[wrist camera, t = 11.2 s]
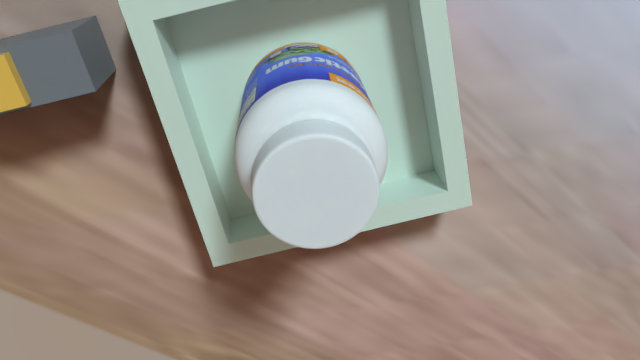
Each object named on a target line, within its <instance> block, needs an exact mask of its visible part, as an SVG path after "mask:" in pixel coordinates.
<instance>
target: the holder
mask: <svg viewBox="0 0 640 360" xmlns="http://www.w3.org/2000/svg"><path fill="white" fill-rule="evenodd" d="M115 71H116V68H115V65H114V63H113V60H112V57H111V55H110V52H109V49H108V47H107V44H106V41H105V39H104V36H103V34H102V31H101V28H100V26H99V23H98V20H97V18H96V16H93V17H89V18H85V19H81V20H77V21H72V22H68V23H64V24H60V25H56V26H52V27H48V28H44V29H40V30H36V31H32V32H28V33H24V34H20V35H16V36H12V37H8V38H4V39H0V115H2V114H6V113H10V112H14V111H18V110H22V109H27V108H31V107H35V106H39V105H43V104H47V103H51V102H55V101H59V100H63V99H67V98H71V97H75V96H79V95H84V94H88V93H92V92H96V91H97V90H98V88H99V87H100V86H101V85H102V84H103V83H104V82H105V81H106V80H107V79H108V78H109V77H110V76H111V75H112V74H113V73H114V72H115Z"/></svg>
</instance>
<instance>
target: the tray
mask: <svg viewBox="0 0 640 360" xmlns="http://www.w3.org/2000/svg"><path fill="white" fill-rule="evenodd" d="M118 3H119V5H120V8H121V11H122V14H123V16H124V19H125V22H126V25H127V28H128V30H129V33H130V36H131V39H132V41H133V44H134V47H135V50H136V53H137V55H138V58H139V61H140V64H141V66H142V69H143V72H144V75H145V78H146V80H147V83H148V86H149V89H150V92H151V94H152V97H153V100H154V103H155V105H156V108H157V111H158V114H159V117H160V119H161V122H162V125H163V128H164V130H165V133H166V136H167V139H168V142H169V144H170V147H171V150H172V153H173V155H174V158H175V161H176V164H177V167H178V169H179V172H180V175H181V178H182V181H183V183H184V186H185V189H186V192H187V194H188V197H189V200H190V203H191V206H192V208H193V211H194V214H195V217H196V219H197V222H198V225H199V228H200V231H201V233H202V236H203V239H204V242H205V244H206V247H207V250H208V253H209V256H210V258H211V261H212V264H213V267H217V266H221V265H225V264H229V263H233V262H238V261H242V260H246V259H250V258H254V257H258V256H263V255H267V254H271V253H275V252H279V251H284V250H288V249H292V248H296V246H293V245H290V244H287V243H285V242H283V241H281V240H279V239H278V238H276V237H275V236H274V235H272V234H271V233H270V232H269V231H268V230H267V229H266V228H265V227H264V226H263V225H262V223H261V222H260V220H259V218H258V216H257V215H256V212H255V209H254V206H253V202H252V201H251V200H250V198H249V197H248V196H247V194H246V193H245V191H244V189H243V188H242V186H241V183H240V181H239V178H238V175H237V172H236V168H235V159H234V152H235V139H236V133H237V127H238V121H239V115H240V109H241V104H242V98H243V93H244V88H245V85H246V82H247V80H248V78H249V76H250V74H251V72H252V70H253V69H254V67H255V66H256V65H257V63H258V62H259V61H260V60H261V59H262V58H263V57H264V56H265V55H267V54H268V53H269V52H271V51H272V50H274V49H276V48H278V47H280V46H283V45H285V44H289V43H293V42H315V43H319V44H323V45H326V46H328V47H330V48H332V49H334V50H336V51H337V52H339V53H340V54H341V55H343V56H344V57H345V58H346V59H347V60H348V61H349V62H350V63H351V64H352V66H353V67H354V69H355V70H356V72H357V73H358V75H359V77H360V79H361V81H362V84H363V86H364V88H365V90H366V92H367V94H368V96H369V99H370V101H371V103H372V105H373V107H374V109H375V111H376V113H377V115H378V118H379V120H380V122H381V125H382V127H383V130H384V132H385V135H386V140H387V146H388V160H387V167H386V171H385V175H384V177H383V180H382V182H381V184H380V194H379V200H378V205H377V208H376V211H375V213H374V214H373V216H372V218H371V220H370V221H369V223H368V224H367V225H366V226H365V227H364V228H363V229H362V230H361V231H360V232H363V231H367V230H371V229H376V228H380V227H384V226H388V225H392V224H396V223H401V222H405V221H409V220H413V219H417V218H422V217H426V216H430V215H434V214H438V213H442V212H447V211H451V210H455V209H459V208H463V207H468V206H472V199H471V191H470V184H469V176H468V169H467V161H466V153H465V146H464V138H463V131H462V123H461V115H460V108H459V100H458V93H457V85H456V77H455V70H454V62H453V55H452V47H451V39H450V32H449V24H448V17H447V9H446V1H445V0H118Z"/></svg>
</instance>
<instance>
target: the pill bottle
mask: <svg viewBox="0 0 640 360" xmlns="http://www.w3.org/2000/svg"><path fill="white" fill-rule="evenodd" d="M234 159H235V168H236V172H237V175H238V178H239V181H240V183H241V186H242V188H243V189H244V191H245V193H246V194H247V196H248V197H249V198H250V200H251V201H252V202H253V206H254V209H255V212H256V215H257V216H258V218H259V220H260V222H261V223H262V225H263V226H264V227H265V228H266V229H267V230H268V231H269V232H270V233H271V234H272V235H274V236H275V237H276V238H278V239H279V240H281V241H283V242H285V243H287V244H290V245H293V246H296V247H301V248H307V249H322V248H328V247H332V246H336V245H338V244H341V243H344V242H346V241H348V240H349V239H351V238H352V237H354V236H355V235H357V234H358V233H359V232H360V231H361V230H362V229H363V228H364V227H365V226H366V225H367V224H368V223H369V221H370V220H371V218H372V216H373V214H374V213H375V211H376V208H377V205H378V200H379V194H380V184H381V182H382V180H383V177H384V175H385V171H386V167H387V160H388V146H387V140H386V135H385V132H384V130H383V127H382V125H381V122H380V120H379V118H378V115H377V113H376V111H375V109H374V107H373V105H372V103H371V101H370V99H369V96H368V94H367V92H366V90H365V88H364V86H363V84H362V81H361V79H360V77H359V75H358V73H357V72H356V70H355V69H354V67H353V66H352V64H351V63H350V62H349V61H348V60H347V59H346V58H345V57H344V56H343V55H341V54H340V53H339V52H337V51H336V50H334V49H332V48H330V47H328V46H326V45H323V44H319V43H315V42H293V43H289V44H285V45H283V46H280V47H278V48H276V49H274V50H272V51H271V52H269V53H268V54H267V55H265V56H264V57H263V58H262V59H261V60H260V61H259V62H258V63H257V65H256V66H255V67H254V69H253V70H252V72H251V74H250V76H249V78H248V80H247V82H246V85H245V88H244V93H243V98H242V104H241V109H240V115H239V121H238V127H237V133H236V139H235V152H234Z"/></svg>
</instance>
